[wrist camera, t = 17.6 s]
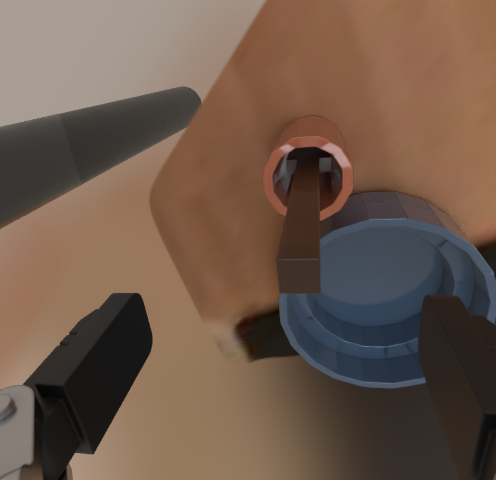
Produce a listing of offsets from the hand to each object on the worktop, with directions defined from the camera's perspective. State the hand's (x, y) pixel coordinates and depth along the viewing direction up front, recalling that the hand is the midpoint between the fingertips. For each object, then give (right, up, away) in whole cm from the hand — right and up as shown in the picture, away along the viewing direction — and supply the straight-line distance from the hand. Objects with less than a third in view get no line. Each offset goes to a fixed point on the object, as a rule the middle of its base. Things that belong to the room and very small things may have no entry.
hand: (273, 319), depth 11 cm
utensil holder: (+4, +9, +18) cm, 21 cm away
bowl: (+10, -1, +22) cm, 24 cm away
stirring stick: (+4, +9, +18) cm, 20 cm away
